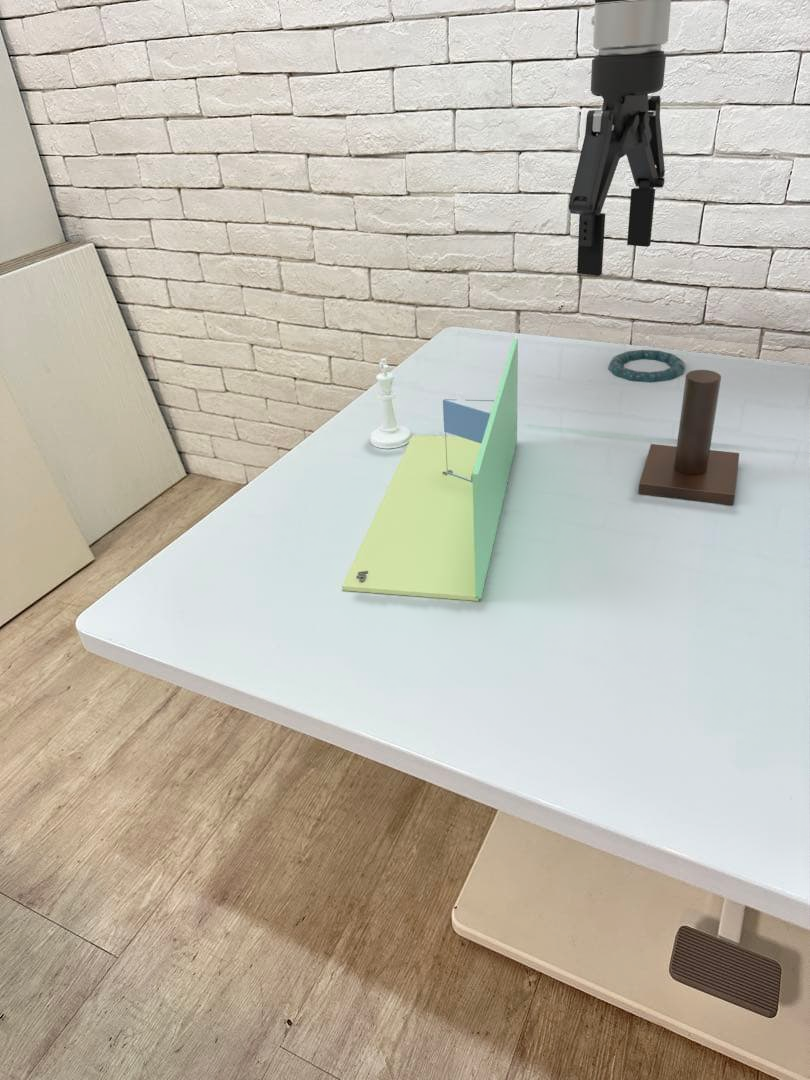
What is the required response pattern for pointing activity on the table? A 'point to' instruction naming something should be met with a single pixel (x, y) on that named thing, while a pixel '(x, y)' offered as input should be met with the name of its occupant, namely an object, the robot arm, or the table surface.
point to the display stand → (444, 504)
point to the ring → (670, 359)
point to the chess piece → (388, 415)
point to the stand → (693, 451)
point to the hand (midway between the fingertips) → (615, 259)
